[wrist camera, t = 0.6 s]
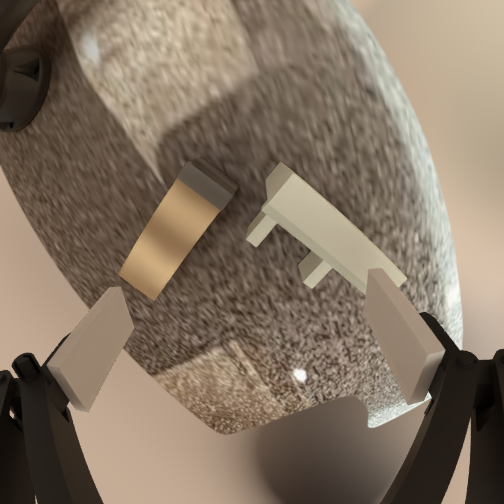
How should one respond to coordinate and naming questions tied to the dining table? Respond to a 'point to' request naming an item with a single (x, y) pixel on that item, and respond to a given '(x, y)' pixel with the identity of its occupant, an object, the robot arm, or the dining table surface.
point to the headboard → (318, 232)
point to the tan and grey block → (177, 225)
